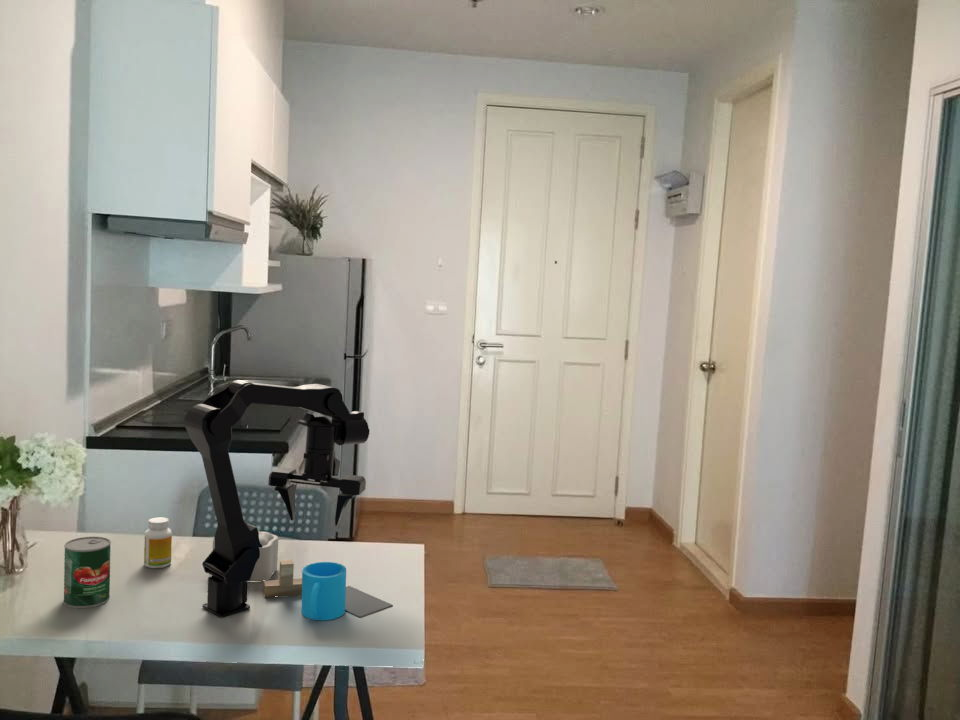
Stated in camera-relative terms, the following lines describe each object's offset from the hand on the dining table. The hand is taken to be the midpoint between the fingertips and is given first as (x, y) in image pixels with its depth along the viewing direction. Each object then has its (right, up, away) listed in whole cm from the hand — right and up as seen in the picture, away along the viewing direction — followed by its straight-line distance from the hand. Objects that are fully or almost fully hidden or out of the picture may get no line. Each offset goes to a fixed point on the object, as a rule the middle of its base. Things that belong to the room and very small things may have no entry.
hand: (314, 522), depth 171 cm
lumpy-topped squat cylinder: (-16, -12, +6) cm, 21 cm away
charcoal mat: (+9, -14, -6) cm, 18 cm away
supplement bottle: (-35, -11, +8) cm, 37 cm away
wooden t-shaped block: (-5, -14, -5) cm, 15 cm away
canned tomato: (-40, -12, -13) cm, 44 cm away
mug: (+4, -15, -13) cm, 20 cm away
